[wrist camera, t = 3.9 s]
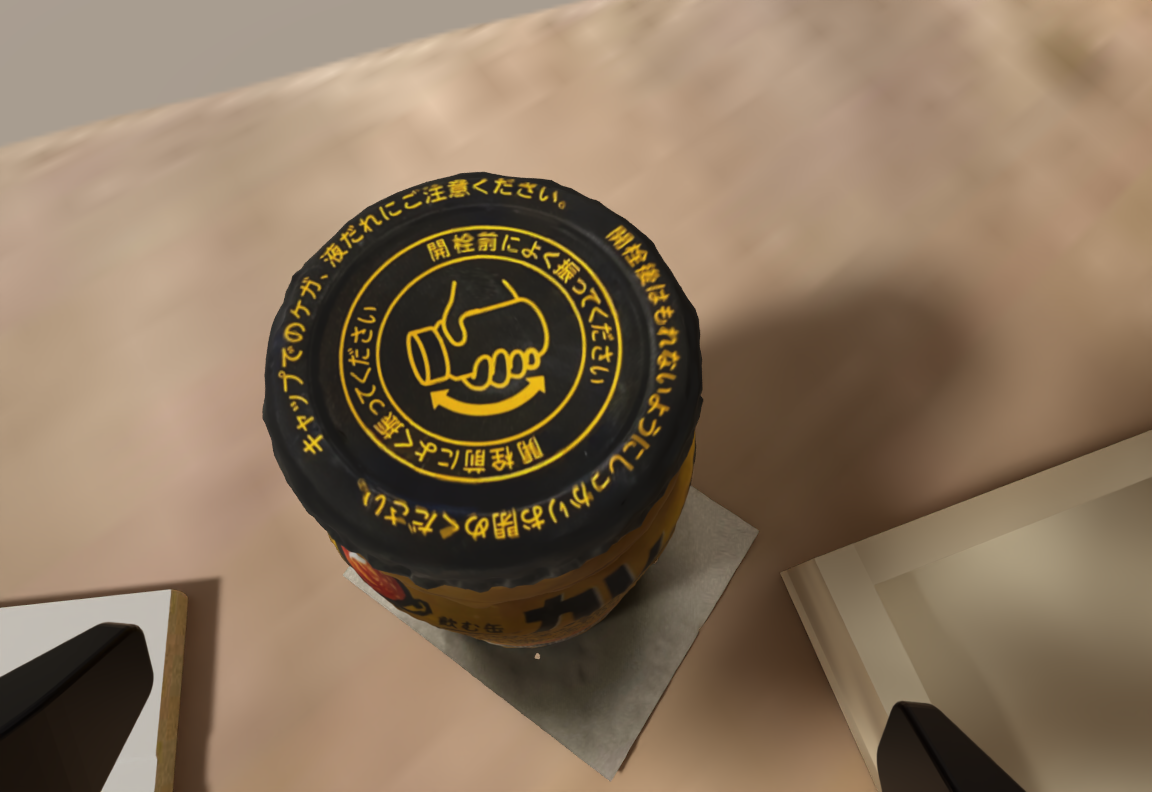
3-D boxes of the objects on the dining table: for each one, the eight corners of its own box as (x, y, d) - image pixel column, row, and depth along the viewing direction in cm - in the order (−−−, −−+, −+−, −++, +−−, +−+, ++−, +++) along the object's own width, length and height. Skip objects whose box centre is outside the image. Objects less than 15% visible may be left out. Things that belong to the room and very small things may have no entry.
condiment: (508, 368, 21) (438, 29, 10) (758, 532, 19) (1023, 352, 8) (344, 576, 19) (10, 450, 8) (610, 780, 17) (688, 1008, 6)
